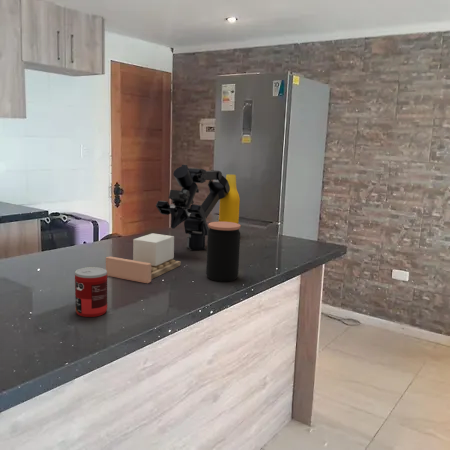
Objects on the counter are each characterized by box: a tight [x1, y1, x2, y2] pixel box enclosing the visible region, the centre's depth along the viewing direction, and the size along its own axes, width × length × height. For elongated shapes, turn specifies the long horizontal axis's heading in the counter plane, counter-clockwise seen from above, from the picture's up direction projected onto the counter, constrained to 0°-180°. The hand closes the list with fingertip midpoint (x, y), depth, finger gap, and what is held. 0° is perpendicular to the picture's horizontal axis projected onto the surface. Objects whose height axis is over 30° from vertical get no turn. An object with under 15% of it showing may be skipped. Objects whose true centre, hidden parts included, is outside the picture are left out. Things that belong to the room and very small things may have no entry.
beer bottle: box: [218, 173, 241, 224], centre depth 212 cm, size 9×9×29 cm
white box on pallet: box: [132, 232, 175, 266], centre depth 161 cm, size 12×9×8 cm
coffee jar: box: [205, 221, 242, 283], centre depth 153 cm, size 11×11×18 cm
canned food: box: [74, 266, 108, 318], centre depth 119 cm, size 8×8×11 cm
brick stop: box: [105, 256, 152, 284], centre depth 148 cm, size 2×16×6 cm, turn 66°
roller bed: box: [151, 258, 182, 280], centre depth 159 cm, size 21×14×2 cm, turn 156°
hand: (172, 228), depth 172 cm, fingers closed
